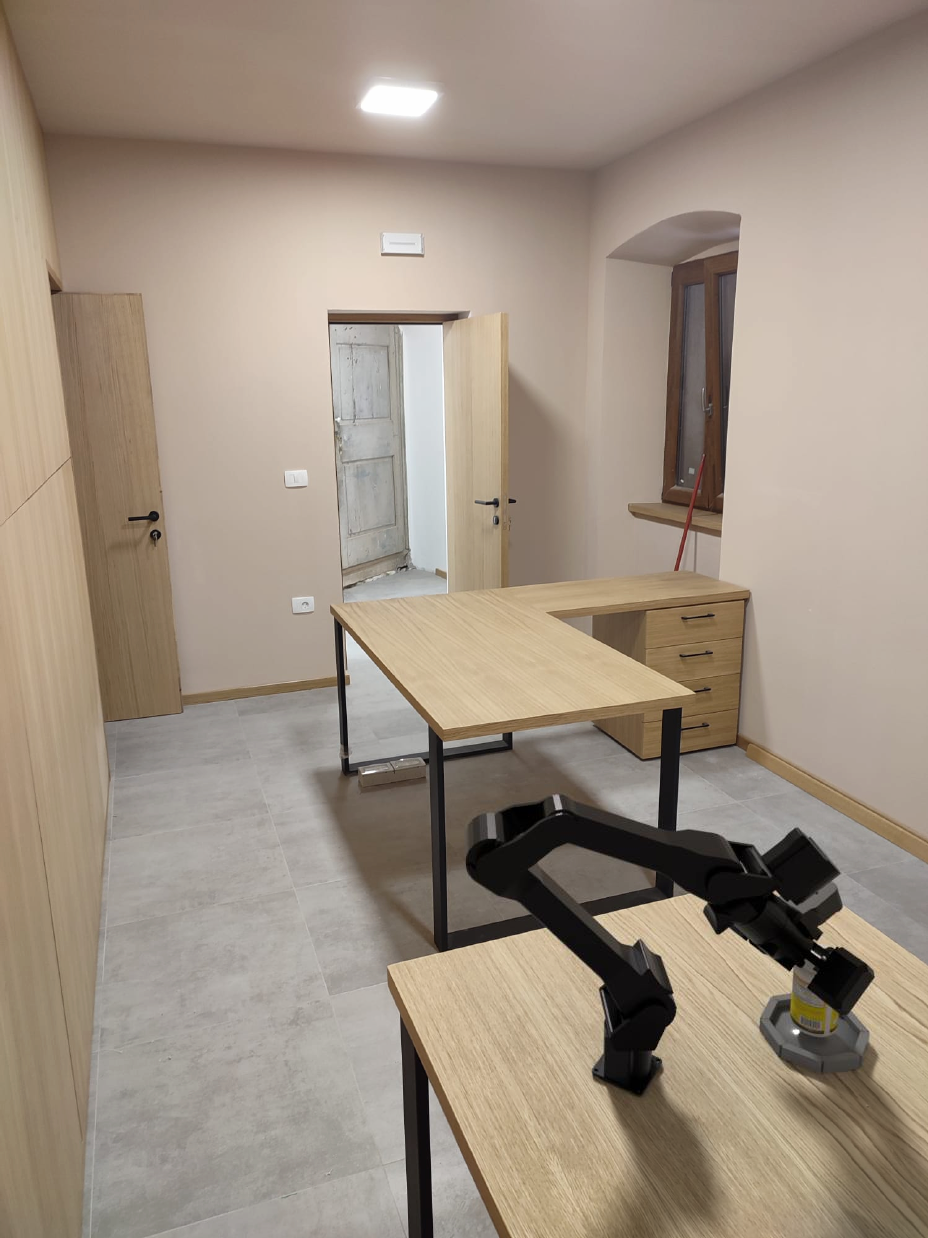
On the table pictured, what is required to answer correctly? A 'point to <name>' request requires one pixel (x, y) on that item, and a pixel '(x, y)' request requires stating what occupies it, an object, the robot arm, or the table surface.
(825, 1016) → the supplement bottle
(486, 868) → the robot arm
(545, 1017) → the table surface
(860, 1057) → the dish
